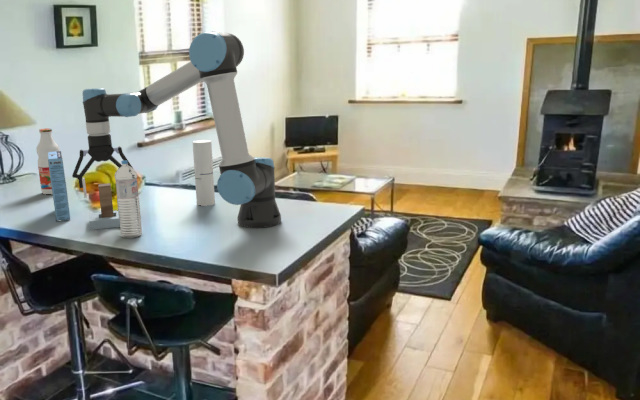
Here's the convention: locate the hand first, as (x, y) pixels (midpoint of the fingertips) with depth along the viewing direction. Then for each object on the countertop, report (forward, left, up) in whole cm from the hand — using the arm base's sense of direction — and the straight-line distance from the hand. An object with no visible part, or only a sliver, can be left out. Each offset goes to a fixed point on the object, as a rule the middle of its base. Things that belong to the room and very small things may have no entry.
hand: (106, 194), depth 211 cm
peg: (0, 0, -11) cm, 11 cm away
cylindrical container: (+15, -37, -11) cm, 41 cm away
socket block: (0, 0, -11) cm, 10 cm away
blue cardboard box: (+20, +16, -11) cm, 28 cm away
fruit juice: (+64, +22, -11) cm, 69 cm away
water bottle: (-19, -7, -11) cm, 23 cm away
